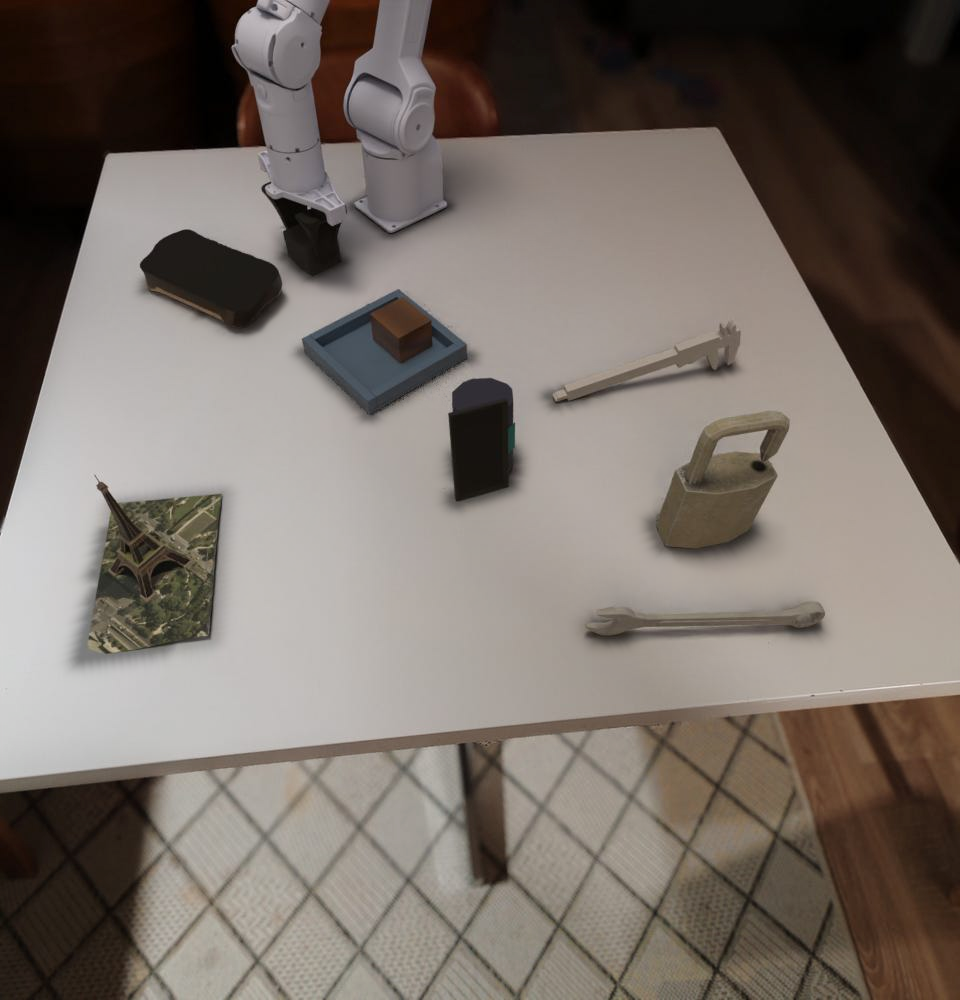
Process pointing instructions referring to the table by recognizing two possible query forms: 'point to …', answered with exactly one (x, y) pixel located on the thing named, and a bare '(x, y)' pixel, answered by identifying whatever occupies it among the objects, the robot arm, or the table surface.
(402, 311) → the walnut block
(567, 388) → the caliper
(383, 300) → the holder
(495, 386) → the speaker
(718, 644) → the table surface
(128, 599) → the eiffel tower figurine
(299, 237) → the black block
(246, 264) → the black sponge
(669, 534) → the padlock
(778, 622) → the combination wrench
